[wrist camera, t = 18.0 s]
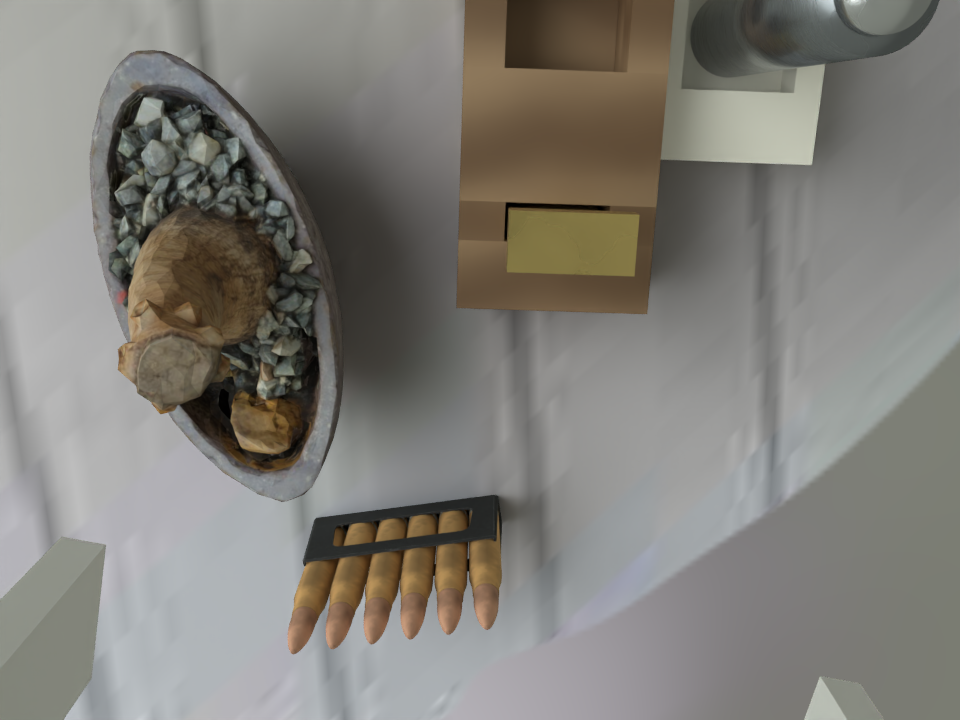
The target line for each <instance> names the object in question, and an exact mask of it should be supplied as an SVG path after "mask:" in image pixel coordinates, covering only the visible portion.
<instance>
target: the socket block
mask: <svg viewBox="0 0 960 720" xmlns="http://www.w3.org/2000/svg"><path fill="white" fill-rule="evenodd" d="M674 2H675V0H465V26H464V61H463V97H462V132H461V167H460V202H459V237H458V273H457V308H474V309H505V310H536V311H567V312H598V313H628V314H647V309H648V298H649V286H650V275H651V263H652V252H653V241H654V229H655V218H656V207H657V195H658V184H659V173H660V161H661V150H662V139H663V127H664V116H665V104H666V93H667V82H668V70H669V59H670V48H671V36H672V25H673V14H674ZM511 202H520V203H548V204H577V205H593V206H594V207H595V208H597V209H598V210H599V211H622V212H636V213H637V214H639V227H638V239H637V251H636V263H635V276H606V275H575V274H545V273H515V272H507V271H506V255H507V232H508V209H509V208H511Z"/></svg>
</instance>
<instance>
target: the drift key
mask: <svg viewBox="0 0 960 720" xmlns="http://www.w3.org/2000/svg"><path fill="white" fill-rule="evenodd" d="M638 227H639V214H637V213H636V212H622V211H599V210H598V209H597V208H595V207H594V206H593V205H577V204H548V203H520V202H511V208H509V209H508V232H507V255H506V271H507V272H515V273H545V274H575V275H606V276H635V263H636V251H637V239H638Z"/></svg>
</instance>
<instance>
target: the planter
mask: <svg viewBox="0 0 960 720" xmlns="http://www.w3.org/2000/svg"><path fill="white" fill-rule="evenodd" d="M90 180H91V197H92V210H93V224H94V233H95V236H96V239H97V244H98V255H99V258H100V261H101V264H102V269H103V274H104V277H105V281H106V284H107V287H108V290H109V295H110V298H111V301H112V304H113V307H114V310H115V312H116V315H117V318H118V321H119V323H120V326H121V328H122V331H123V333H124V336H125V338H126V340H127V341H128V343H125V344H124V345H122V346H121V347H120V348H119V349H118V354H119V364H118V370H119V371H120V372H121V373H122V374H123V375H124V376H126V377H127V378H128V379H129V380H130V381H131V382H133V383H134V384H135V385H136V387H137V393H138V394H140V395H141V396H143V397H144V398H146V399H147V400H149V401H151V403H152V404H153V406H154V407H155V408H156V409H157V411H158V412H159V413H160V414H163V413H169V415H170V416H171V418H172V420H173V421H174V422H175V423H176V425H177V426H178V427H179V428H180V429H181V431H182V432H183V433H184V434H185V435H186V436H187V437H188V439H189V440H190V441H191V442H192V443H193V444H194V445H195V446H196V447H197V448H198V449H199V450H200V451H201V452H202V453H203V454H204V455H205V456H206V457H207V458H208V459H209V460H210V461H211V462H213V463H214V464H215V465H216V466H217V467H218V468H219V469H220V470H221V471H222V472H224V473H225V474H227V475H228V476H230V477H231V478H233V479H235V480H236V481H238V482H240V483H241V484H243V485H244V486H246V487H248V488H249V489H251V490H252V491H254V492H256V493H257V494H259V495H262V496H266V497H270V498H273V499H275V500H278V501H281V502H284V501H288V500H291V499H294V498H296V497H299V496H302V495H304V494H305V493H306V492H307V491H308V490H309V489H310V488H311V487H312V486H313V484H314V482H315V480H316V478H317V477H318V475H319V473H320V470H321V468H322V466H323V464H324V461H325V459H326V456H327V454H328V451H329V449H330V446H331V443H332V441H333V438H334V434H335V430H336V426H337V422H338V418H339V412H340V406H341V398H342V387H343V364H344V362H343V334H342V317H341V312H340V305H339V301H338V296H337V291H336V285H335V280H334V274H333V270H332V266H331V263H330V259H329V255H328V252H327V249H326V246H325V243H324V240H323V238H322V235H321V232H320V229H319V227H318V225H317V222H316V220H315V218H314V215H313V213H312V211H311V209H310V207H309V205H308V203H307V200H306V198H305V196H304V194H303V192H302V190H301V188H300V186H299V184H298V182H297V180H296V179H295V177H294V176H293V174H292V172H291V171H290V169H289V168H288V166H287V164H286V163H285V161H284V159H283V158H282V156H281V155H280V153H279V152H278V150H277V149H276V147H275V146H274V145H273V143H272V142H271V140H270V139H269V138H268V137H267V135H266V134H265V133H264V132H263V131H262V129H261V128H260V127H259V126H258V125H257V123H256V122H255V121H254V119H253V118H252V117H251V116H250V115H249V114H248V113H247V112H246V111H245V110H244V108H243V107H242V106H241V105H240V104H239V103H238V102H237V101H236V100H235V99H234V98H233V97H232V96H231V95H230V94H229V93H227V92H226V91H225V90H224V89H223V88H222V87H221V86H220V85H219V84H218V83H217V82H216V81H214V80H213V79H211V78H210V77H209V76H207V75H206V74H204V73H203V72H202V71H200V70H198V69H197V68H195V67H194V66H192V65H191V64H189V63H188V62H186V61H184V60H183V59H181V58H179V57H177V56H174V55H172V54H169V53H167V52H164V51H155V50H151V51H136V52H133V53H130V54H129V55H128V56H127V57H126V58H125V59H124V60H123V61H122V62H121V63H120V64H119V65H118V67H117V68H116V69H115V71H114V72H113V74H112V75H111V77H110V79H109V81H108V84H107V86H106V88H105V90H104V92H103V95H102V97H101V99H100V104H99V110H98V115H97V119H96V123H95V126H94V130H93V135H92V143H91V151H90Z"/></svg>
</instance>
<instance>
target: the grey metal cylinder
mask: <svg viewBox="0 0 960 720" xmlns="http://www.w3.org/2000/svg"><path fill="white" fill-rule="evenodd" d="M938 3H939V0H708V1H707V2H705V3H704V4H703V6H702V7H701V8H700V9H699V11H698V12H697V14H696V16H695V18H694V20H693V23H692V27H691V33H690V41H691V47H692V51H693V54H694V56H695V58H696V60H697V61H698V63H699V64H700V65H701V66H702V67H703V68H704V69H705V70H706V71H708V72H710V73H711V74H713V75H716V76H720V77H726V78H729V77H738V76H745V75H752V74H759V73H766V72H773V71H780V70H786V69H793V68H800V67H807V66H814V65H821V64H828V63H835V62H842V61H849V60H855V59H862V58H869V57H876V56H882V55H887V54H890V53H893V52H895V51H897V50H900V49H901V48H903V47H905V46H906V45H908V44H909V43H911V42H912V41H913V40H914V39H916V38H917V37H918V36H919V35H920V34H921V33H922V31H923V30H924V29H925V28H926V26H927V25H928V24H929V22H930V20H931V19H932V17H933V15H934V13H935V11H936V9H937V6H938Z"/></svg>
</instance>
